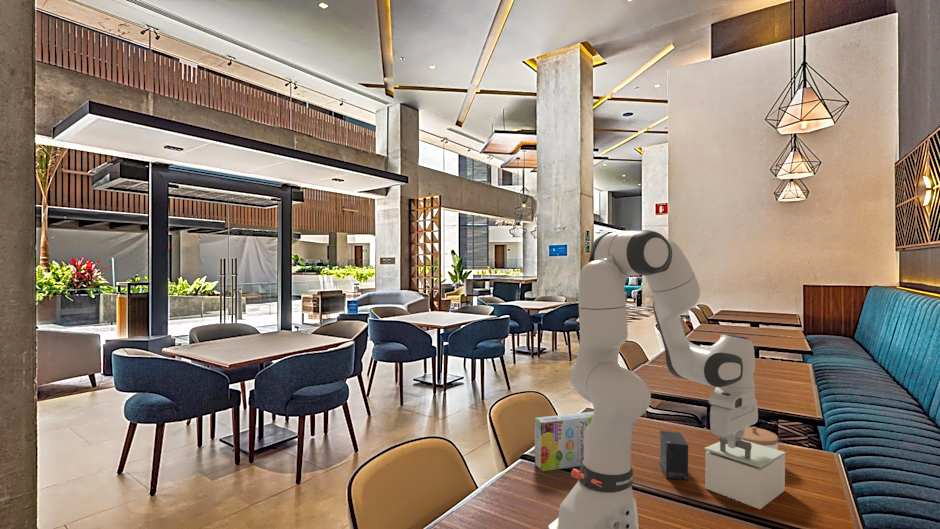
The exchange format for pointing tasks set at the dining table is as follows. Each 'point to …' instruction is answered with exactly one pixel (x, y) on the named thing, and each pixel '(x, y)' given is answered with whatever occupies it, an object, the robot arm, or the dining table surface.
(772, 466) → the carton
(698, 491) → the dining table surface
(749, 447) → the lid
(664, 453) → the small box
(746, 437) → the lidded bowl
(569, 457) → the snack box
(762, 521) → the dining table surface
